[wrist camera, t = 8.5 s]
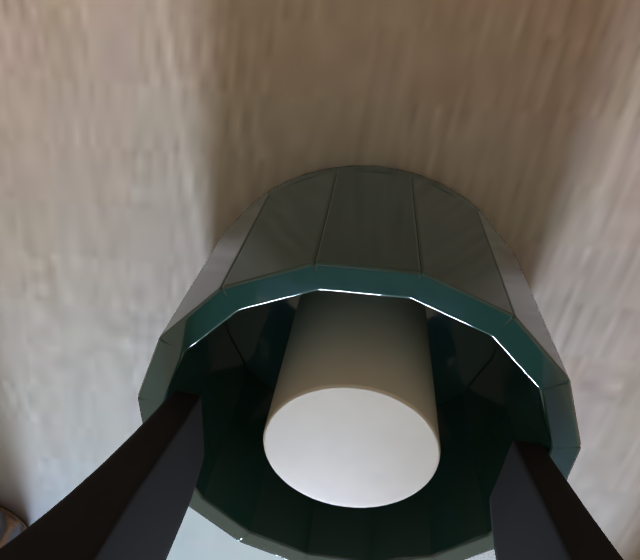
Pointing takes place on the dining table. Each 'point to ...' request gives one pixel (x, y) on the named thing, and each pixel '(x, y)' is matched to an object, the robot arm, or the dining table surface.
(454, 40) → the dining table surface
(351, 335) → the candle
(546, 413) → the dark green bowl
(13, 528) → the vase
